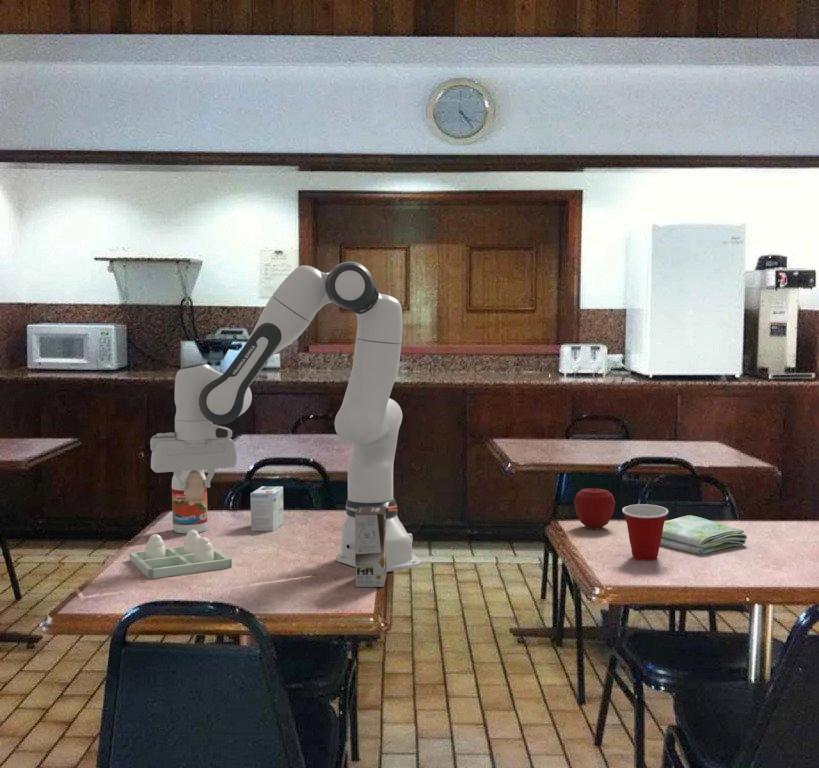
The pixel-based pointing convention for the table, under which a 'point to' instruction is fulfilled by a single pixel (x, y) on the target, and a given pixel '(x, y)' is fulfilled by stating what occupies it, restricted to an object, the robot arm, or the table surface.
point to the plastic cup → (645, 529)
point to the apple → (594, 507)
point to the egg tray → (177, 563)
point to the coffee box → (370, 546)
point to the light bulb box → (266, 508)
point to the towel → (700, 535)
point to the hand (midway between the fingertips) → (194, 488)
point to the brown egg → (194, 486)
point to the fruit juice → (188, 508)
